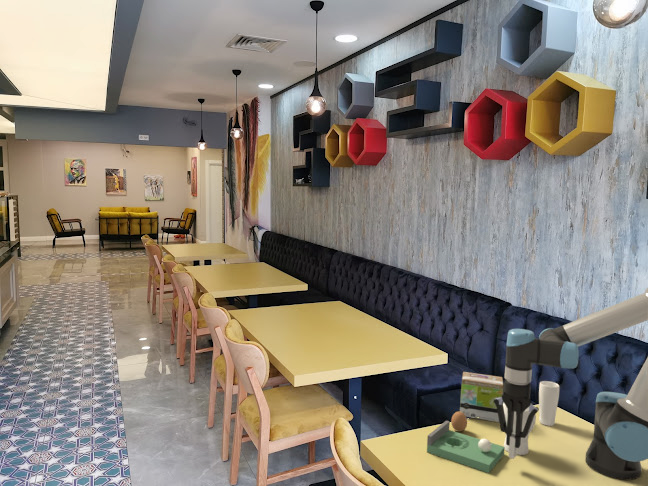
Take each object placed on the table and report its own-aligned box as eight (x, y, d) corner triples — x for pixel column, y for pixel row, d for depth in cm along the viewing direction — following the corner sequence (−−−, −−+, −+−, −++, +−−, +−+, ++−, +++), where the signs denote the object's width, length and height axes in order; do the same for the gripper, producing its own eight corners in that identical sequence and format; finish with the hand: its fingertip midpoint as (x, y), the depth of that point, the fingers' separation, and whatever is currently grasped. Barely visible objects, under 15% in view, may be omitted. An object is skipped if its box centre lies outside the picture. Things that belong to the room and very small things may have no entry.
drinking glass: (542, 418, 194) (545, 379, 193) (560, 424, 189) (563, 384, 188) (533, 422, 190) (536, 383, 189) (551, 428, 185) (554, 388, 184)
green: (504, 454, 164) (505, 437, 164) (488, 473, 152) (489, 455, 152) (445, 435, 176) (446, 420, 176) (426, 452, 164) (427, 435, 164)
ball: (492, 451, 161) (493, 438, 161) (488, 455, 158) (489, 443, 157) (480, 447, 163) (481, 435, 163) (475, 451, 160) (476, 439, 160)
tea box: (459, 417, 193) (461, 378, 192) (460, 407, 202) (462, 370, 201) (501, 423, 188) (503, 384, 187) (500, 413, 198) (502, 375, 197)
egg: (448, 427, 183) (449, 408, 182) (463, 427, 184) (464, 408, 183) (454, 434, 178) (455, 415, 177) (469, 434, 178) (470, 414, 178)
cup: (536, 459, 162) (539, 413, 161) (501, 455, 164) (504, 409, 163) (529, 444, 172) (532, 400, 171) (496, 440, 174) (499, 397, 173)
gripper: (543, 382, 153) (538, 458, 155) (499, 372, 160) (494, 445, 162) (537, 389, 147) (531, 468, 148) (491, 379, 154) (487, 454, 156)
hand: (512, 456), depth 155 cm, fingers closed
